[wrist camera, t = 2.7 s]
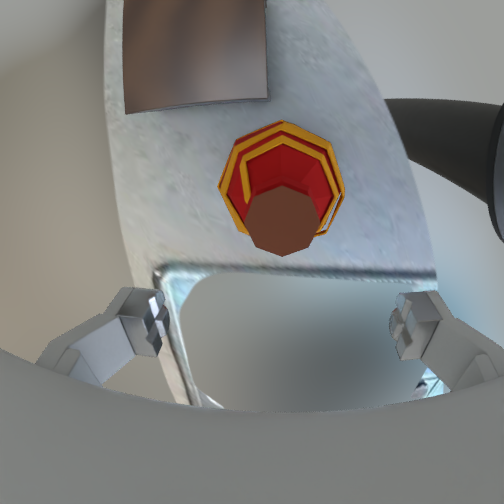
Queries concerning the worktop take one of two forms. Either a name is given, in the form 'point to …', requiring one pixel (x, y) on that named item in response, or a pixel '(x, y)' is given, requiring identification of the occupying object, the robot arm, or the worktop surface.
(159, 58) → the shelf
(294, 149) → the potion bottle
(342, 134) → the worktop surface
